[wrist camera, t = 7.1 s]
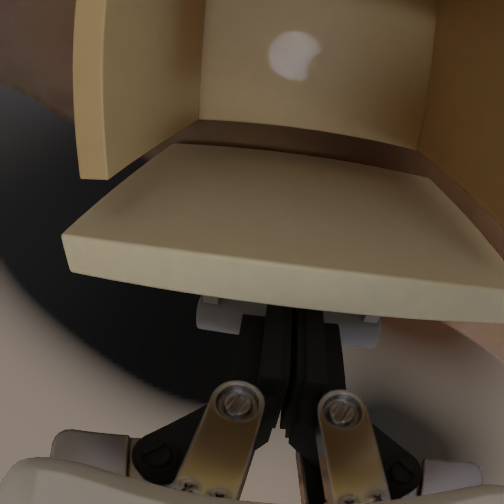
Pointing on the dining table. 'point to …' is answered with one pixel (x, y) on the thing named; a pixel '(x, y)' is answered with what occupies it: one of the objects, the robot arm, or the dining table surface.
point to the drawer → (293, 156)
